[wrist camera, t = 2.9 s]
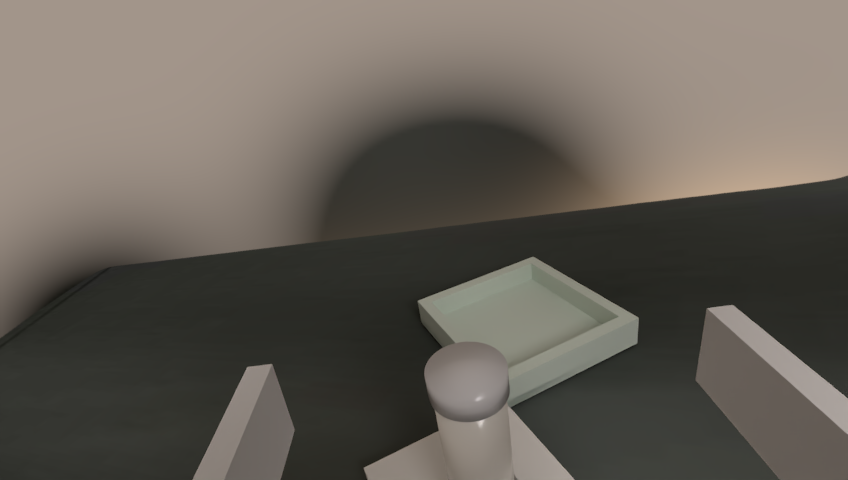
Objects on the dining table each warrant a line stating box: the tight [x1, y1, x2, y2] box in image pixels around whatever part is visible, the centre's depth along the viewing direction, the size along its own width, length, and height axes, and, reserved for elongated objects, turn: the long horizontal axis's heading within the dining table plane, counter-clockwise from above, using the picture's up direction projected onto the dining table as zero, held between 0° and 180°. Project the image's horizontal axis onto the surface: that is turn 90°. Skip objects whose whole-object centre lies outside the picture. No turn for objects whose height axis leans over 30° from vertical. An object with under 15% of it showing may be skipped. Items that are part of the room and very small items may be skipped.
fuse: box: [424, 342, 515, 480], centre depth 26 cm, size 4×4×14 cm
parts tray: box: [418, 257, 639, 407], centre depth 47 cm, size 16×16×3 cm
